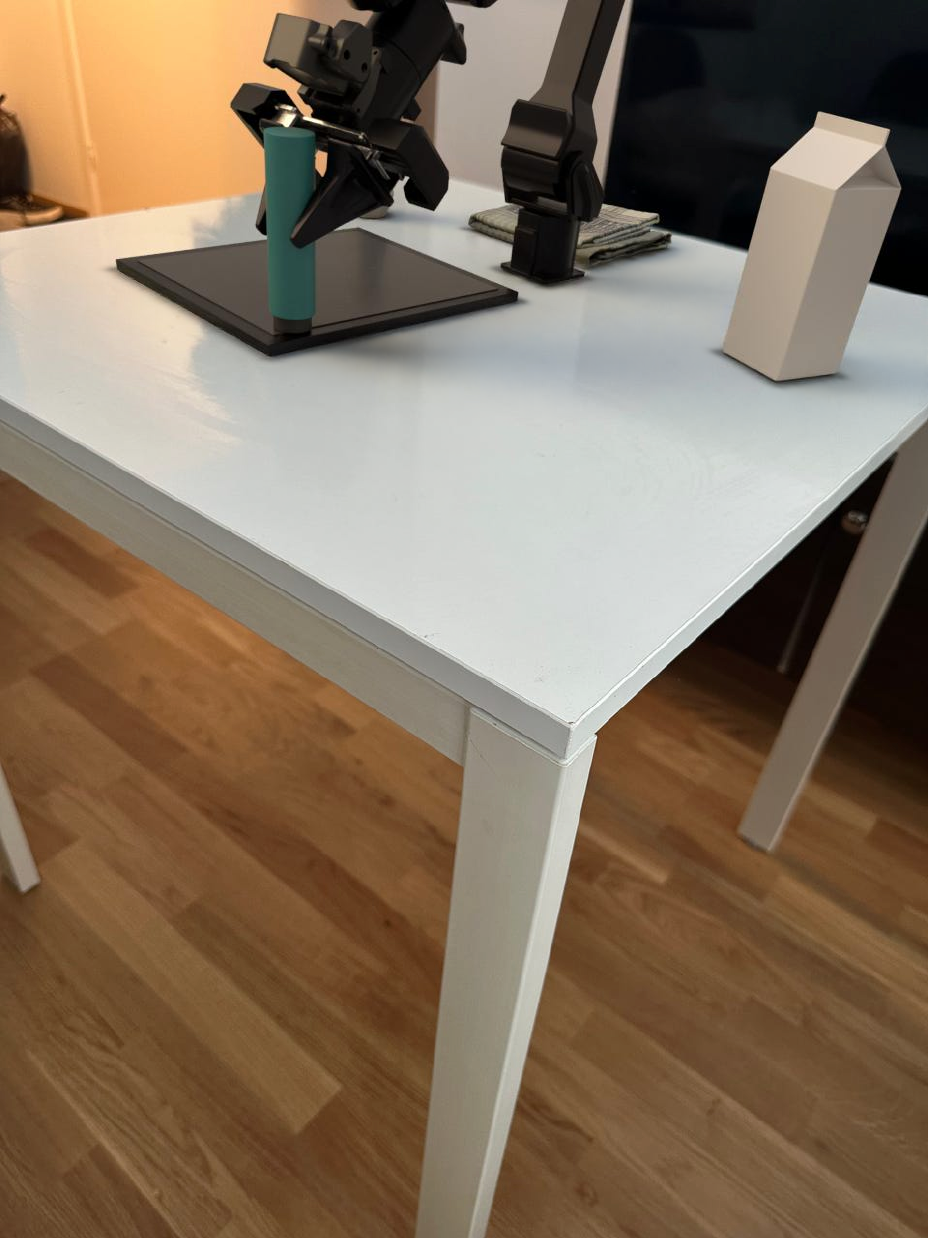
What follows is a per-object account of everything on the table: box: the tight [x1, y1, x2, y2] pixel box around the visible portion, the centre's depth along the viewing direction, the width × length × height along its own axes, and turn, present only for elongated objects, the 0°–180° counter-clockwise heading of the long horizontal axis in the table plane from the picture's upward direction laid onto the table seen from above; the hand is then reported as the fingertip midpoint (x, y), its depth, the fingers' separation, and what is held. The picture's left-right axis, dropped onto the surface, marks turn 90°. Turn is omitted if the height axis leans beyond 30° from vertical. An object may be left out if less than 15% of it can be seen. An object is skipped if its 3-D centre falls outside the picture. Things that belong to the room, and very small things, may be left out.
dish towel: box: [467, 203, 673, 268], centre depth 107 cm, size 19×18×3 cm
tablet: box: [115, 226, 520, 357], centre depth 85 cm, size 28×24×1 cm
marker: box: [263, 127, 317, 334], centre depth 69 cm, size 4×4×14 cm
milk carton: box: [721, 111, 902, 382], centre depth 75 cm, size 7×7×19 cm
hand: (276, 237), depth 68 cm, fingers closed on marker, 3 cm apart
